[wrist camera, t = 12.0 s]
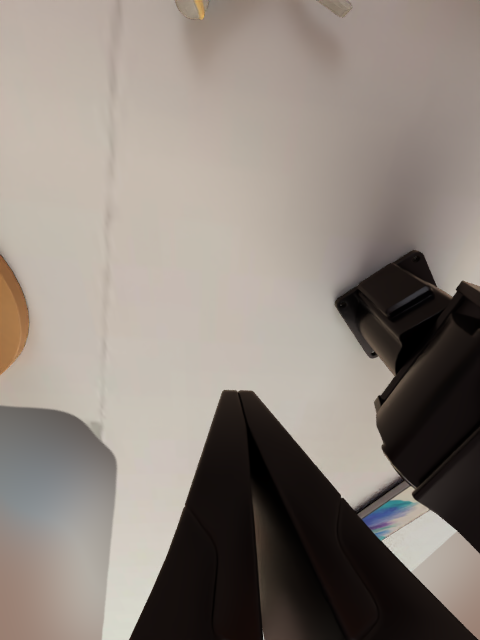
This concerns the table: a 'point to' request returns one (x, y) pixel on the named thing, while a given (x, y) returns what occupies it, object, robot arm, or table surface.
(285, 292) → the table surface
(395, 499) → the smartphone
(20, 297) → the saucepan
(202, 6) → the frying pan
